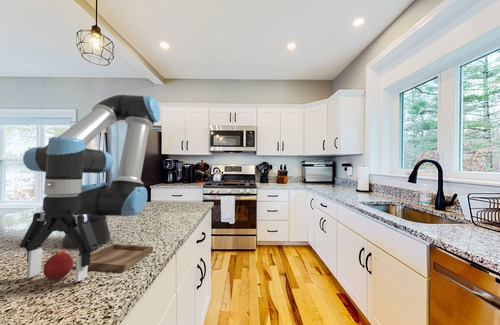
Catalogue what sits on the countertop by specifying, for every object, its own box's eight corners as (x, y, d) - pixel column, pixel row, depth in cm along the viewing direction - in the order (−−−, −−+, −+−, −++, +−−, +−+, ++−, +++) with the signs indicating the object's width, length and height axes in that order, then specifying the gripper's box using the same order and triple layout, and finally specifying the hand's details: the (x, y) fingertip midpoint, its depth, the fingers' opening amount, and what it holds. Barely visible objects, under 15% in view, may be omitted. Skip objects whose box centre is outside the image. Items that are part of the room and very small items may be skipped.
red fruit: (55, 275, 57) (57, 245, 58) (78, 274, 58) (79, 245, 58) (35, 287, 51) (38, 254, 52) (60, 286, 52) (62, 254, 52)
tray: (75, 268, 61) (76, 261, 61) (113, 249, 76) (113, 243, 76) (123, 272, 60) (123, 265, 60) (152, 251, 75) (152, 246, 75)
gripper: (3, 194, 53) (-4, 280, 52) (95, 198, 51) (89, 288, 49) (36, 192, 60) (30, 267, 59) (117, 195, 58) (112, 273, 57)
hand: (57, 276), depth 54 cm, fingers open, 13 cm apart
